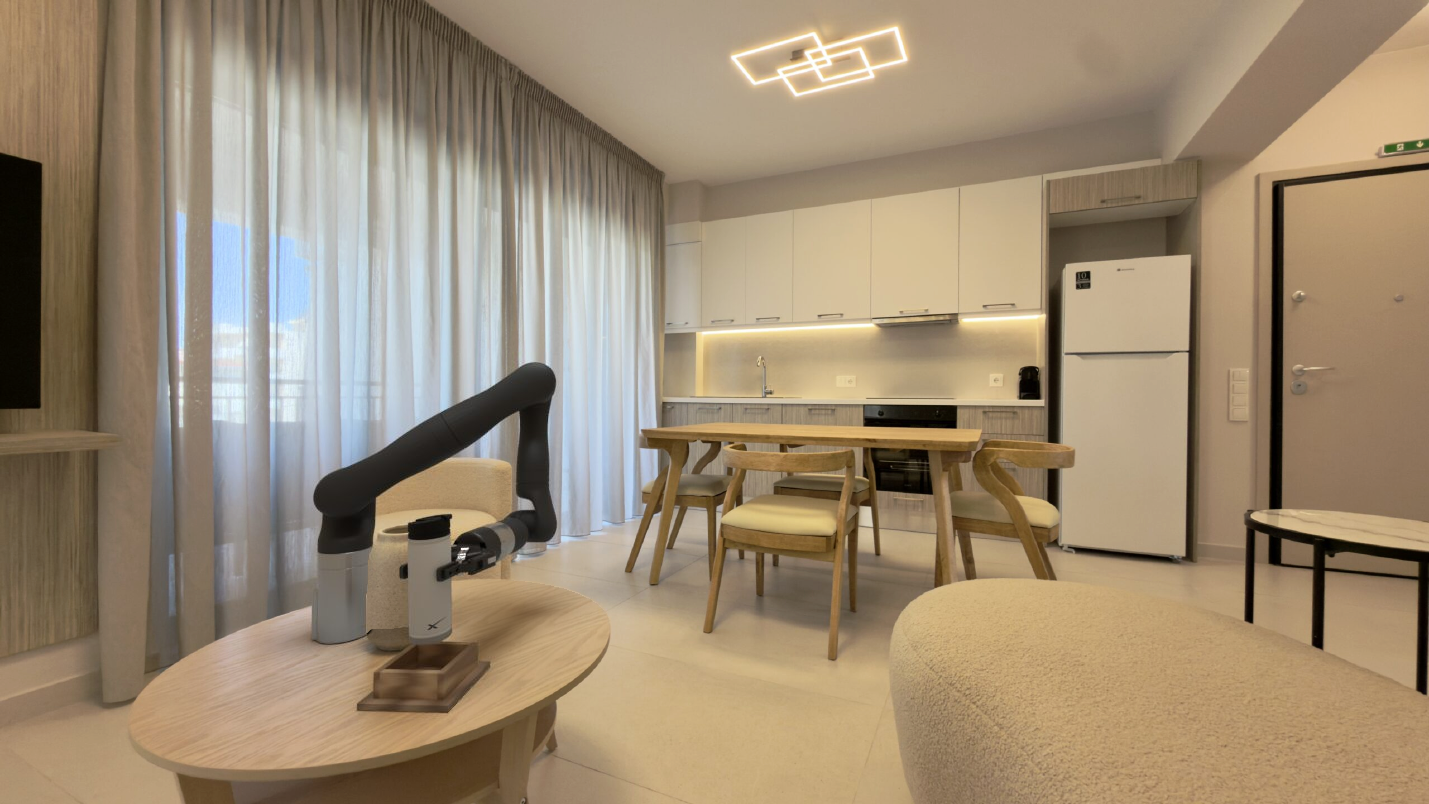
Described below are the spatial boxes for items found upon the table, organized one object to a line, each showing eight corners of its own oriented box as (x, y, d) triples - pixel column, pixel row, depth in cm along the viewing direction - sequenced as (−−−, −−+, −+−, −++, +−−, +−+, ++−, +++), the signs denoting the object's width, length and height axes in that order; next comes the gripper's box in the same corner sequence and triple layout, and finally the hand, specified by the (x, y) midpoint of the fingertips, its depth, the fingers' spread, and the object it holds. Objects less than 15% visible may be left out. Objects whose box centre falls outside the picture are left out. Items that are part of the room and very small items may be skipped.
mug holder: (356, 710, 81) (357, 676, 81) (412, 665, 95) (412, 637, 95) (448, 712, 80) (448, 678, 81) (490, 667, 94) (490, 638, 95)
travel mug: (441, 645, 85) (440, 519, 85) (400, 645, 85) (398, 519, 85) (461, 628, 91) (459, 510, 91) (422, 628, 91) (421, 510, 91)
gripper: (451, 524, 103) (380, 548, 87) (519, 527, 100) (459, 553, 84) (452, 563, 103) (381, 594, 87) (519, 568, 101) (459, 601, 84)
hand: (419, 574), depth 86 cm, fingers closed on travel mug, 6 cm apart
